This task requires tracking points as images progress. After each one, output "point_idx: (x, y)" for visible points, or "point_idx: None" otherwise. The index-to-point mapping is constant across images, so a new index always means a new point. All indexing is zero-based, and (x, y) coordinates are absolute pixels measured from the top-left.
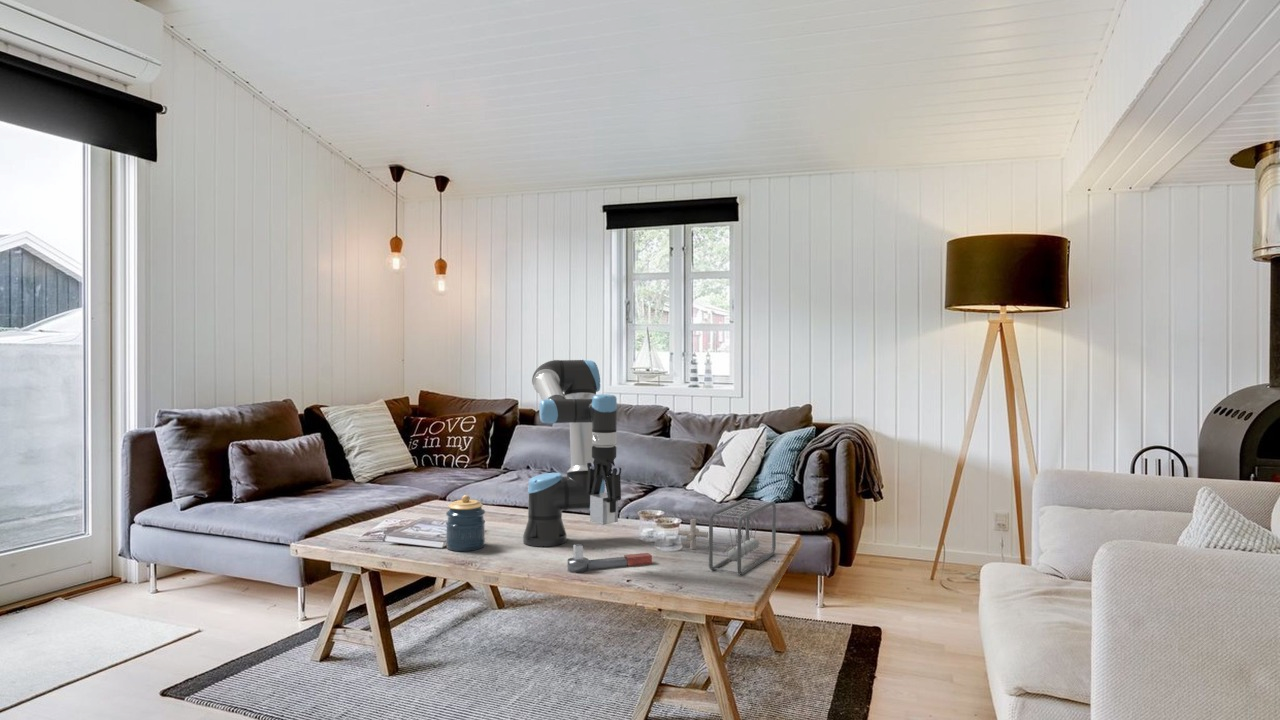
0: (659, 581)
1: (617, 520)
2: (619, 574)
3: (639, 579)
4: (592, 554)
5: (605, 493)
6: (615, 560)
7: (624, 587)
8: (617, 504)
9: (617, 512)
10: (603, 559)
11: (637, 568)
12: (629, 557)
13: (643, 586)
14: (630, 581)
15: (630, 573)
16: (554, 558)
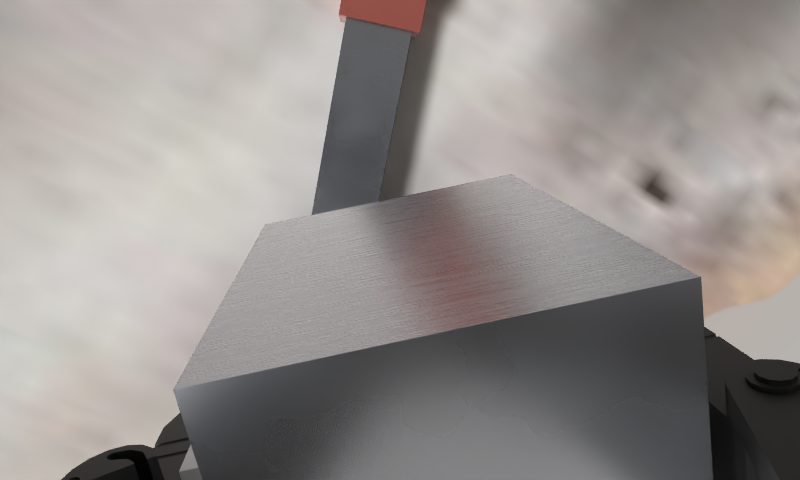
0: (781, 35)
1: (514, 180)
2: (531, 175)
3: (678, 121)
4: (28, 107)
5: (297, 437)
6: (392, 124)
7: (737, 267)
8: (600, 231)
9: (549, 200)
10: (336, 190)
11: (488, 5)
12: (417, 15)
13: (789, 169)
14: (676, 187)
15: (552, 106)
16: (20, 368)
